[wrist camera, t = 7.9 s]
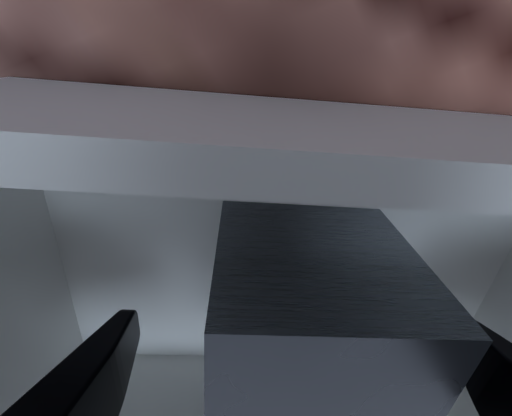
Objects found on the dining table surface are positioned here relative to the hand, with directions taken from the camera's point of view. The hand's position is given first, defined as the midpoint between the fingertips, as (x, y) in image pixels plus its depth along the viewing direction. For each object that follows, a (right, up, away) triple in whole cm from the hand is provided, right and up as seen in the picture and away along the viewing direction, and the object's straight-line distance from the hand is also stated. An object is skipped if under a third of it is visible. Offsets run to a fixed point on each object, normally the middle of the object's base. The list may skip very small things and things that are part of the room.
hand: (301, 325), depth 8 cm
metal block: (0, +1, +2) cm, 3 cm away
